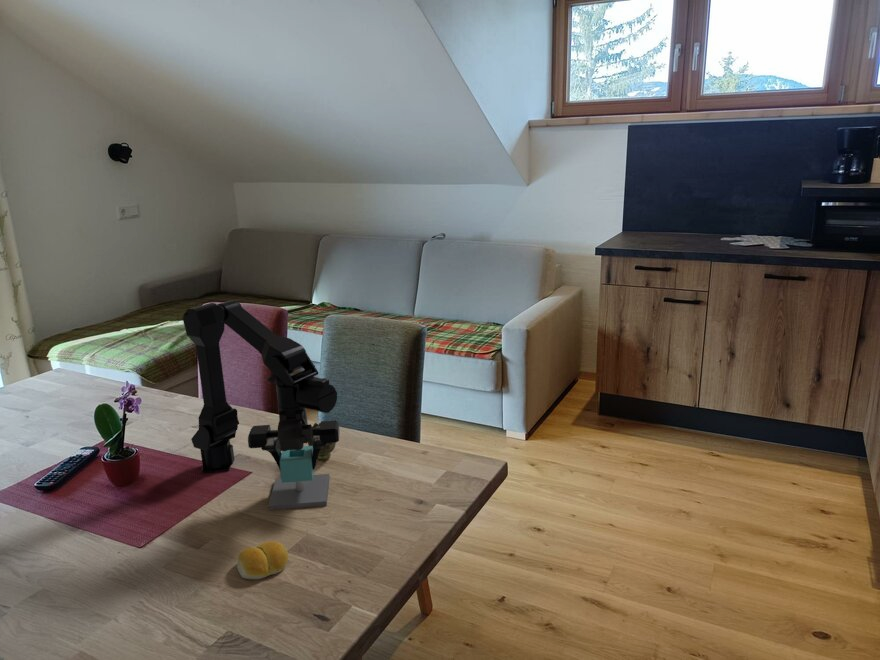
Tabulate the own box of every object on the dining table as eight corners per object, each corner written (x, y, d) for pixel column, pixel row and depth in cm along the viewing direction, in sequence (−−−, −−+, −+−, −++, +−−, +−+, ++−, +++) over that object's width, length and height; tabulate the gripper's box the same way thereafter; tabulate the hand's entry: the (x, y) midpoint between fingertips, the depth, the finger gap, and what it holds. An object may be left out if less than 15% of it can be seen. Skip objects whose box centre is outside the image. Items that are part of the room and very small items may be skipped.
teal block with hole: (281, 482, 139) (279, 461, 137) (285, 468, 145) (283, 447, 143) (312, 480, 139) (310, 459, 138) (314, 466, 145) (312, 445, 144)
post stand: (268, 510, 137) (265, 478, 135) (276, 481, 148) (273, 452, 146) (326, 505, 138) (324, 473, 136) (329, 477, 150) (327, 448, 148)
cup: (342, 451, 162) (339, 422, 160) (334, 465, 155) (332, 435, 153) (312, 451, 163) (310, 421, 161) (304, 465, 156) (301, 434, 154)
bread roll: (295, 568, 118) (293, 549, 117) (246, 587, 113) (244, 567, 112) (279, 546, 125) (277, 528, 124) (232, 563, 120) (230, 544, 119)
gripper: (239, 421, 129) (247, 492, 133) (335, 415, 131) (340, 485, 135) (249, 400, 139) (256, 466, 144) (337, 394, 141) (341, 460, 146)
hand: (298, 469), depth 142 cm, fingers closed on teal block with hole, 6 cm apart
